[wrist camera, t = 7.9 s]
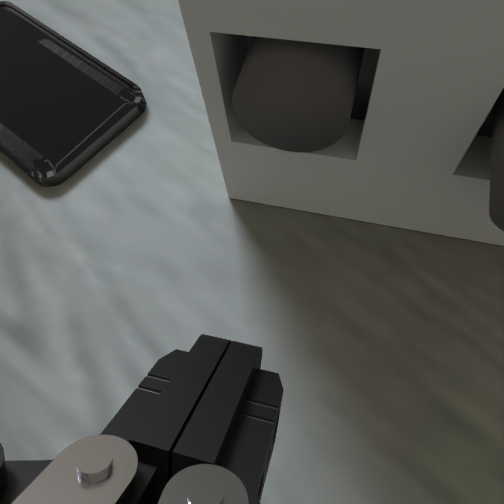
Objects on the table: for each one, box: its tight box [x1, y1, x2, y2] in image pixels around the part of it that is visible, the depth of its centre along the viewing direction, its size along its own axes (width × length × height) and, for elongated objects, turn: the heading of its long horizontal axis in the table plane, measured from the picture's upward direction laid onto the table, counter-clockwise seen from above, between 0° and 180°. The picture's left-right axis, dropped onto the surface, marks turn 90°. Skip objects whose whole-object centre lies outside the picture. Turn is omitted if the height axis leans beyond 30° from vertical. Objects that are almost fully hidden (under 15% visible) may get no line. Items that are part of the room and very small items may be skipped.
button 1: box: [232, 36, 364, 152], centre depth 15 cm, size 4×4×4 cm
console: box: [178, 0, 504, 246], centre depth 14 cm, size 8×15×16 cm, turn 76°
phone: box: [0, 1, 146, 187], centre depth 26 cm, size 8×1×15 cm
